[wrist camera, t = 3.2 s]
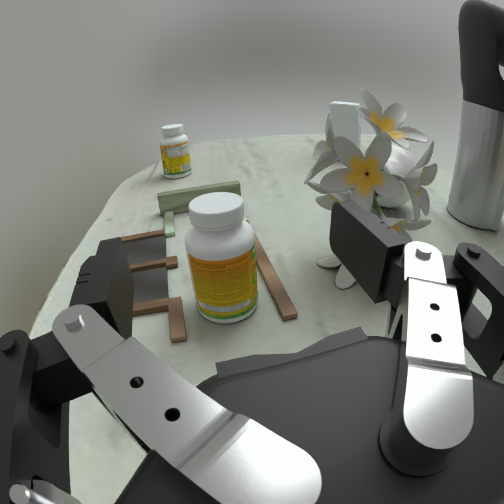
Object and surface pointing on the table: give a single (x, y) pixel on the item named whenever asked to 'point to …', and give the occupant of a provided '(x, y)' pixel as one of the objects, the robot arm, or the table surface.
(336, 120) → the skincare box
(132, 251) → the lane board
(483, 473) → the robot arm
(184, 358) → the table surface
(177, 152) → the supplement bottle
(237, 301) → the supplement bottle
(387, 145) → the flower vase
